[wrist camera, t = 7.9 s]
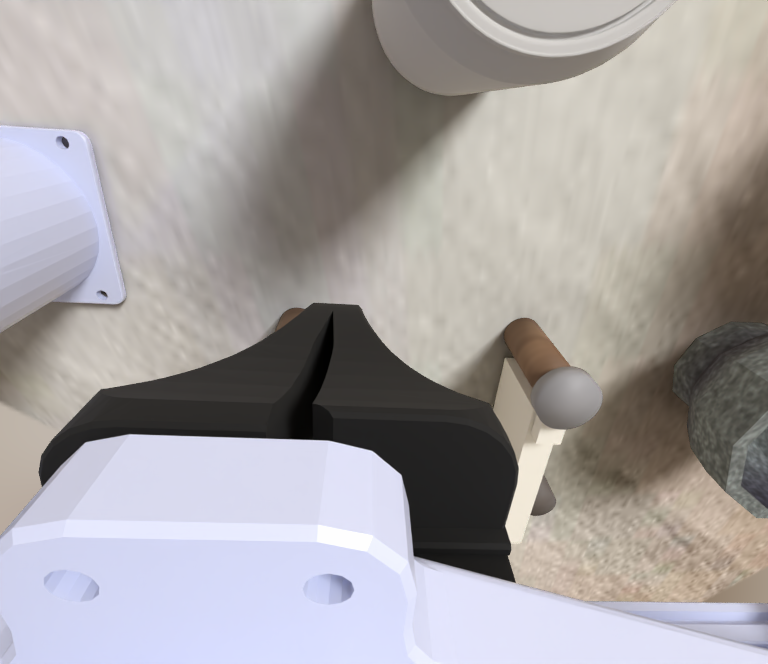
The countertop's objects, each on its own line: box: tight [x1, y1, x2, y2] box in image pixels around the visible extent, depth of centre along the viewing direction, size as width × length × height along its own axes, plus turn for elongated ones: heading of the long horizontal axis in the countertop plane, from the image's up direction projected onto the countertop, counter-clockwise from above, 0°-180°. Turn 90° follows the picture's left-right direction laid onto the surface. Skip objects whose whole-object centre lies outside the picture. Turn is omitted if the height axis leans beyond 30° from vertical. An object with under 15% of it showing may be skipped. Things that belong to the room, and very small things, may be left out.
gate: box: [493, 358, 603, 543], centre depth 23 cm, size 12×3×6 cm, turn 176°
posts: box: [275, 308, 570, 516], centre depth 23 cm, size 16×12×6 cm
